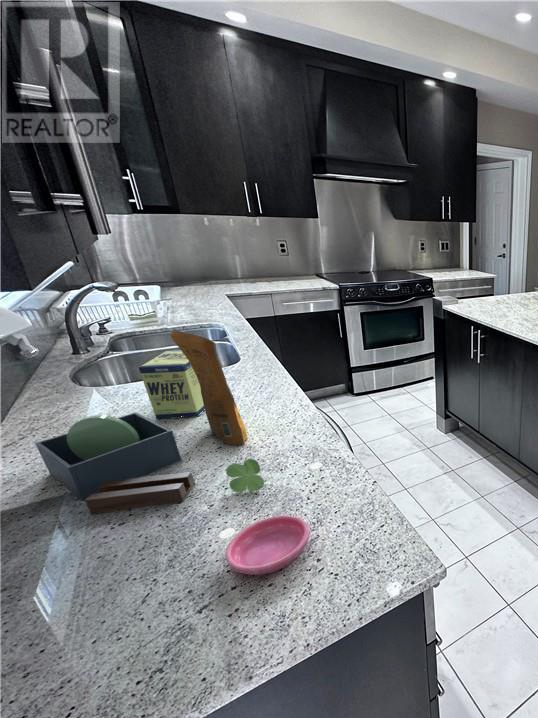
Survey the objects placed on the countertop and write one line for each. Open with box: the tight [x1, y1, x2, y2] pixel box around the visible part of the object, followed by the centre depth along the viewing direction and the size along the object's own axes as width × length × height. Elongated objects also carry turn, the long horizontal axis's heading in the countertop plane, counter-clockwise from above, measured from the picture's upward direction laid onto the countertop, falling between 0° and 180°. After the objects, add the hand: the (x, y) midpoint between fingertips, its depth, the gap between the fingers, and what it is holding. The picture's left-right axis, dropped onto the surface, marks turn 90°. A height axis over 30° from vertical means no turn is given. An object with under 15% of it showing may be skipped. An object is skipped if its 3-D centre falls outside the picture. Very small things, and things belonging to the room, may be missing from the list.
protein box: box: [138, 348, 205, 420], centre depth 116 cm, size 10×16×16 cm
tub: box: [34, 411, 182, 502], centre depth 90 cm, size 17×17×8 cm
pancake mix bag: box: [169, 329, 248, 446], centre depth 100 cm, size 7×19×28 cm, turn 54°
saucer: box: [225, 514, 310, 576], centre depth 70 cm, size 12×12×3 cm
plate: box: [66, 414, 140, 461], centre depth 89 cm, size 1×12×12 cm, turn 106°
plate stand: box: [84, 471, 196, 515], centre depth 81 cm, size 6×15×3 cm, turn 106°
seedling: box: [225, 458, 265, 493], centre depth 88 cm, size 7×8×7 cm
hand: (11, 365), depth 77 cm, fingers open, 8 cm apart
